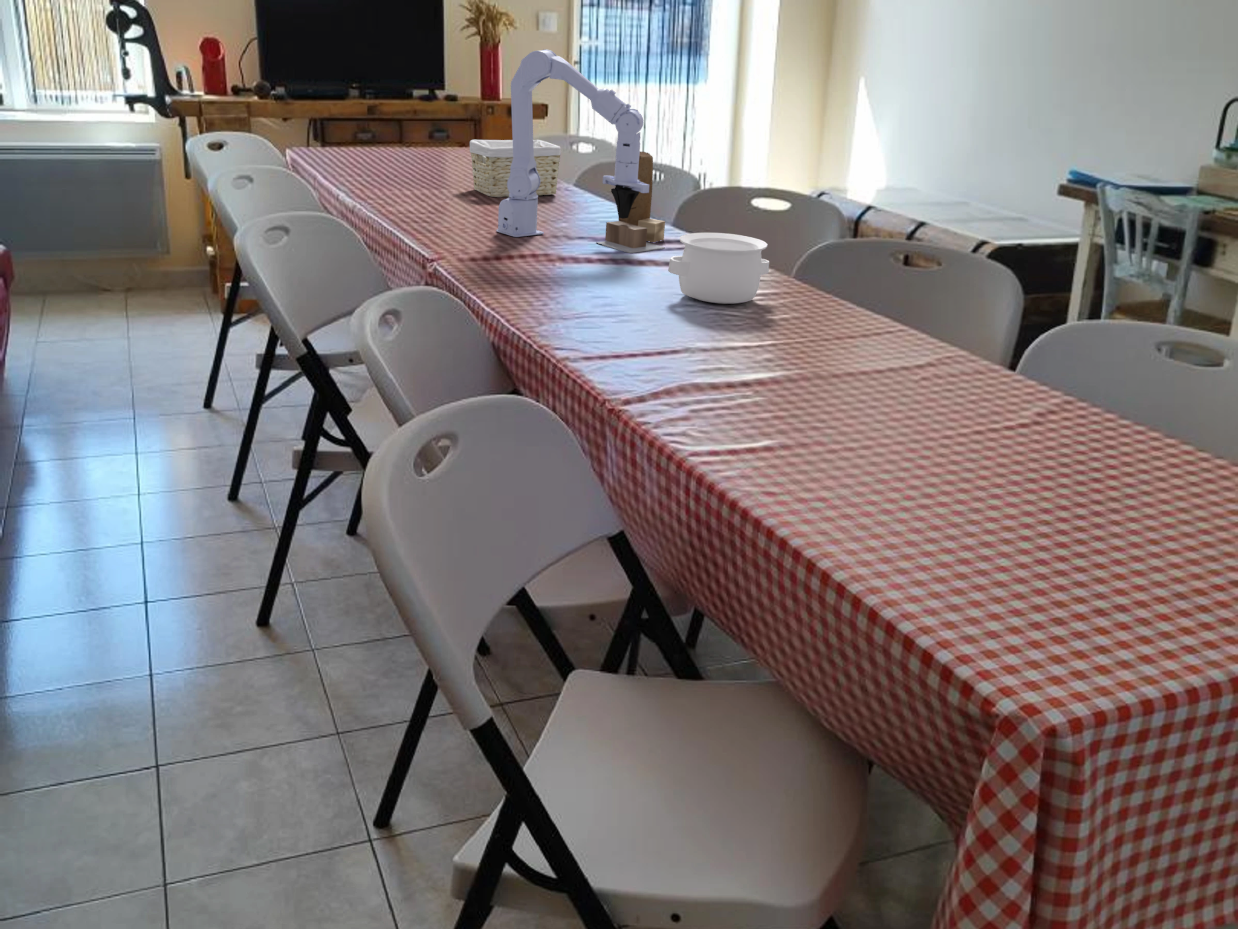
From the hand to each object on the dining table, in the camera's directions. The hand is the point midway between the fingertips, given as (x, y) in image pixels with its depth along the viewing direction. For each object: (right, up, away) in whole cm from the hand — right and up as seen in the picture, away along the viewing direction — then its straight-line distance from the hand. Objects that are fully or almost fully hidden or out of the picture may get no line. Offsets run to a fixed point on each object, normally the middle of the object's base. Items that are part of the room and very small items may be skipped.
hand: (623, 217), depth 284 cm
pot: (+20, -27, -43) cm, 54 cm away
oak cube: (+7, -4, +9) cm, 12 cm away
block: (+2, +1, +20) cm, 20 cm away
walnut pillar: (-3, -2, +4) cm, 5 cm away
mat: (+2, -7, 0) cm, 7 cm away
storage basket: (-33, +20, +61) cm, 72 cm away
